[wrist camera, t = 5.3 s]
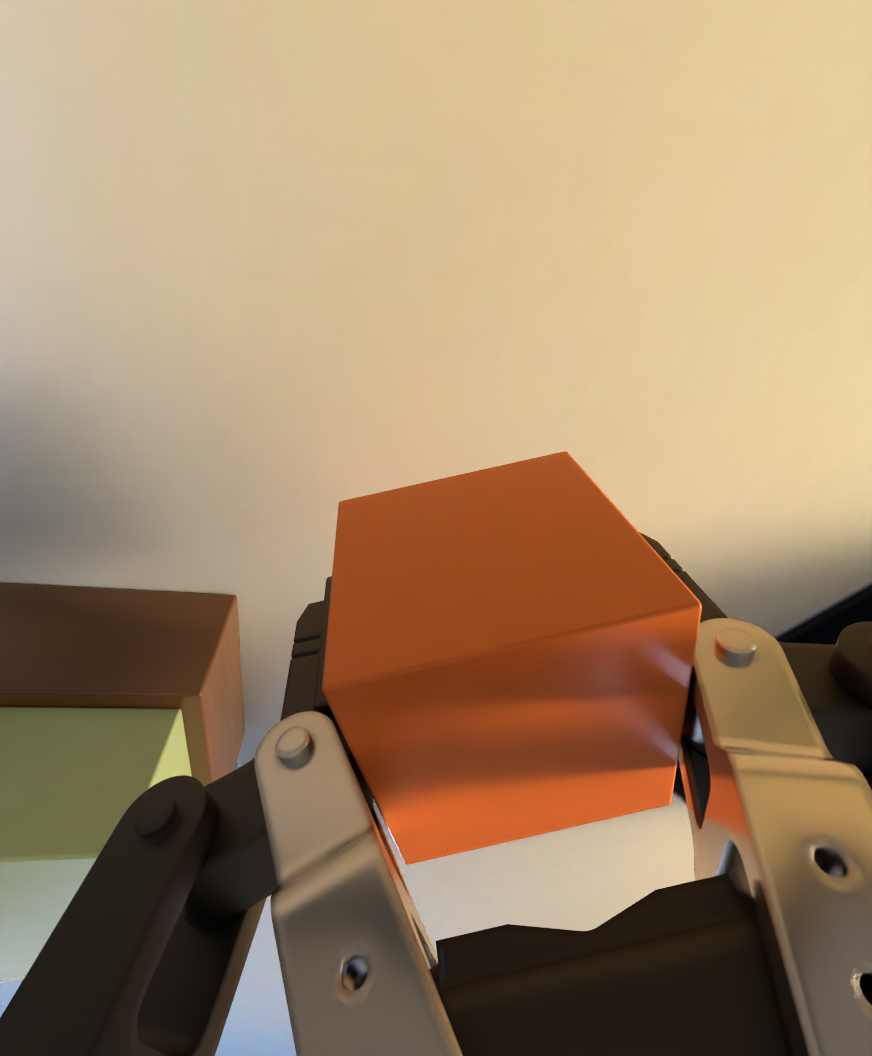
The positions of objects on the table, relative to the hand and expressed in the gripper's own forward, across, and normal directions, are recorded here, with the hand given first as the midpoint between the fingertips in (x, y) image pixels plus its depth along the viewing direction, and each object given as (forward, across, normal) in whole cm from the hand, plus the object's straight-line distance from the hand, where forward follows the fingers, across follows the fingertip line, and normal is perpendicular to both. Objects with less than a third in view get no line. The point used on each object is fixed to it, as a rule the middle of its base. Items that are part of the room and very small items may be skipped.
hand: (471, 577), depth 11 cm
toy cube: (0, 0, 0) cm, 0 cm away
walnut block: (+4, +12, +4) cm, 13 cm away
